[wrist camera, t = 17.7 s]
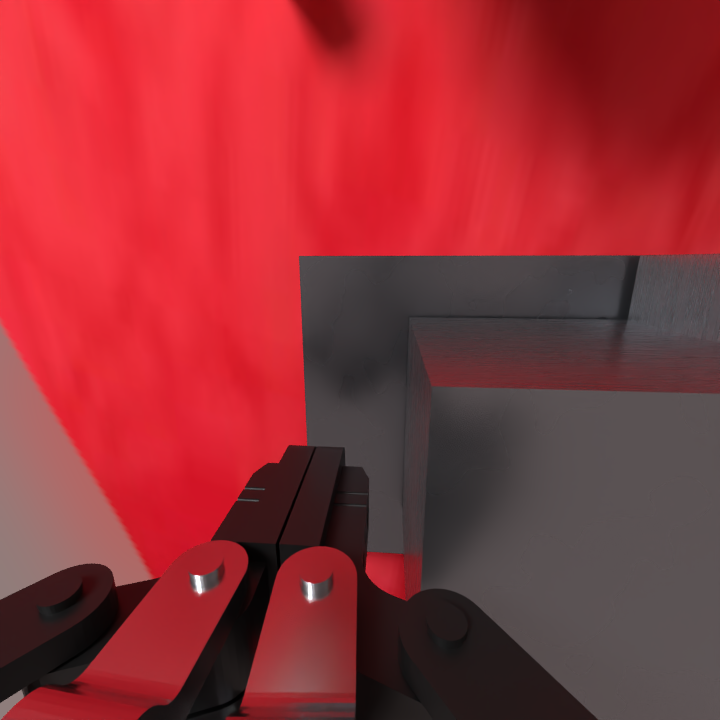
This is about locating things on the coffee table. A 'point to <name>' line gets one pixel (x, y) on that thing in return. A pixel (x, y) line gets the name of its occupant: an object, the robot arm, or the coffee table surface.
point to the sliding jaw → (580, 487)
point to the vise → (391, 334)
